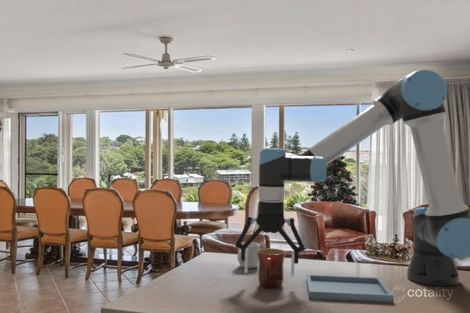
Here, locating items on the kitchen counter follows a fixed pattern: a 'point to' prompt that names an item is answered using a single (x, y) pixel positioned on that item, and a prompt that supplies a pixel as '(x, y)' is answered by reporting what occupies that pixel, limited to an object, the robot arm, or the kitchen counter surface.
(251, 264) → the cup
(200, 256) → the kitchen counter surface
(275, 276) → the mug
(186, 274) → the kitchen counter surface
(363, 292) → the tray
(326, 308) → the kitchen counter surface
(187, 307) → the kitchen counter surface
